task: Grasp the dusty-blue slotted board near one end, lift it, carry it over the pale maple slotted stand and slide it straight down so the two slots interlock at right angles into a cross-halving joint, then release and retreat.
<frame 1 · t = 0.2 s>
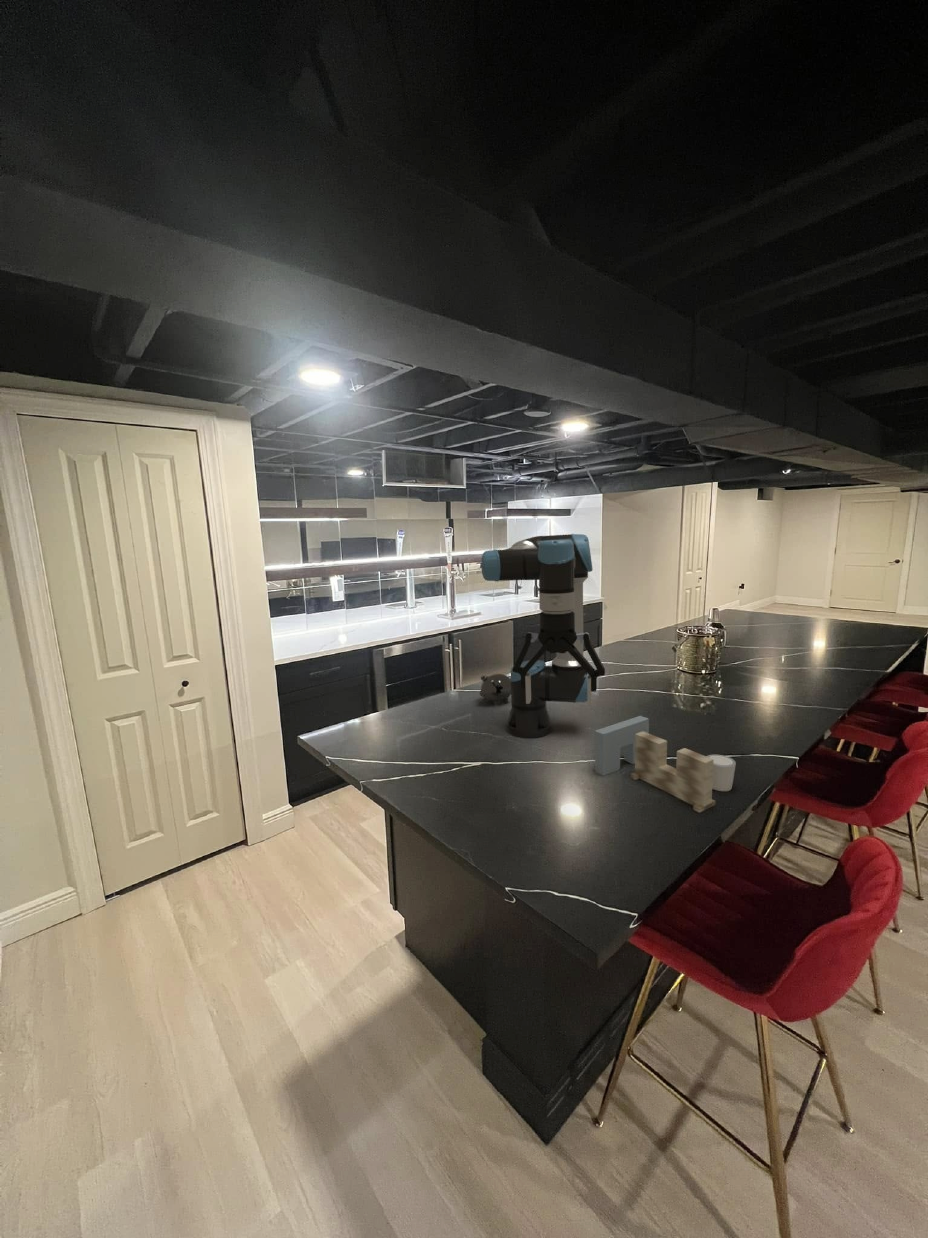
hand: (558, 703, 108), 28 cm above the counter, fingers open, 13 cm apart
white cylinder: (719, 786, 122), on the counter
grey teddy bear: (496, 703, 190), on the counter
slotted stand: (670, 790, 121), on the counter
slotted plate: (622, 764, 135), on the counter
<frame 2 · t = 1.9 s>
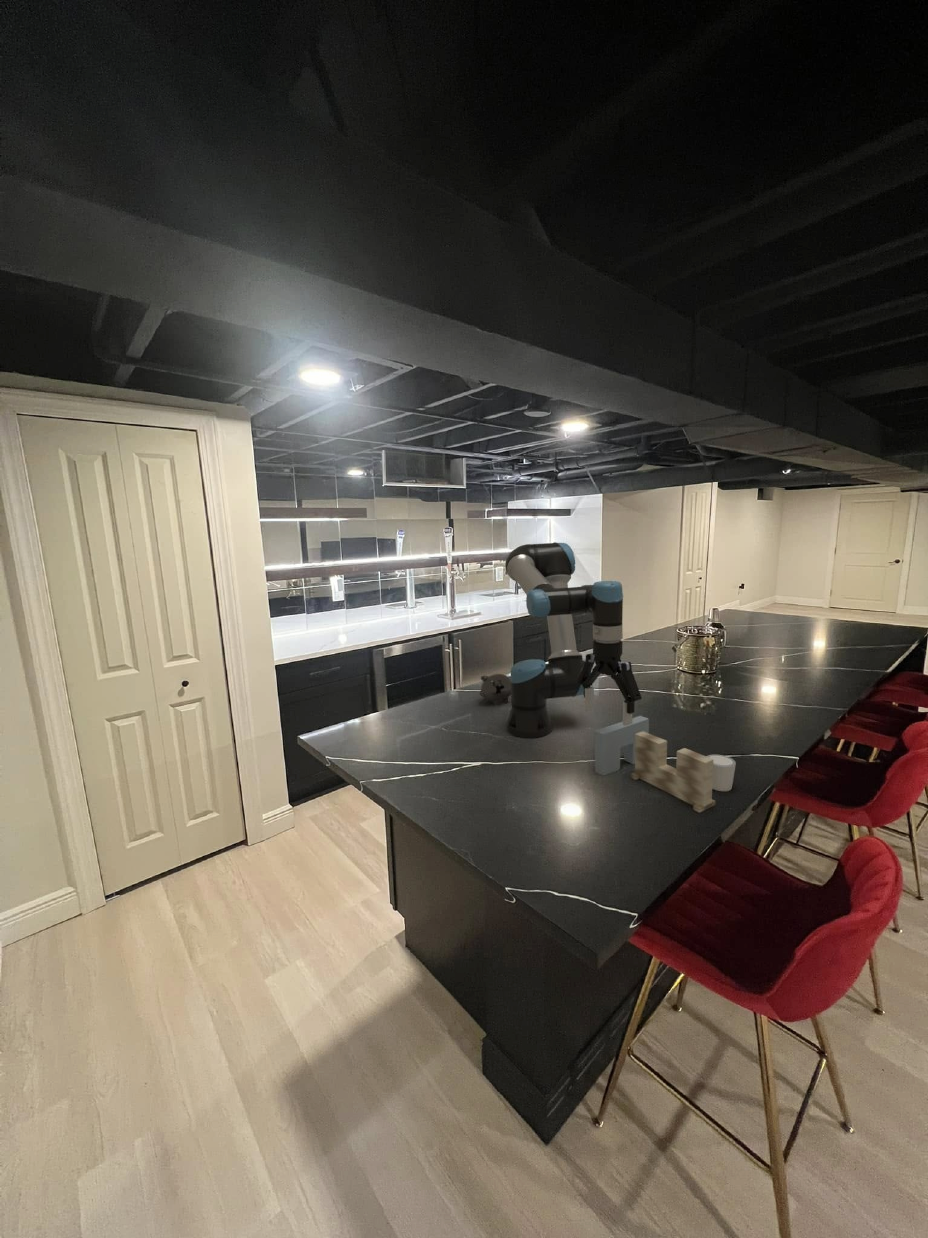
hand: (607, 717, 129), 16 cm above the counter, fingers open, 13 cm apart
nothing on the counter moved.
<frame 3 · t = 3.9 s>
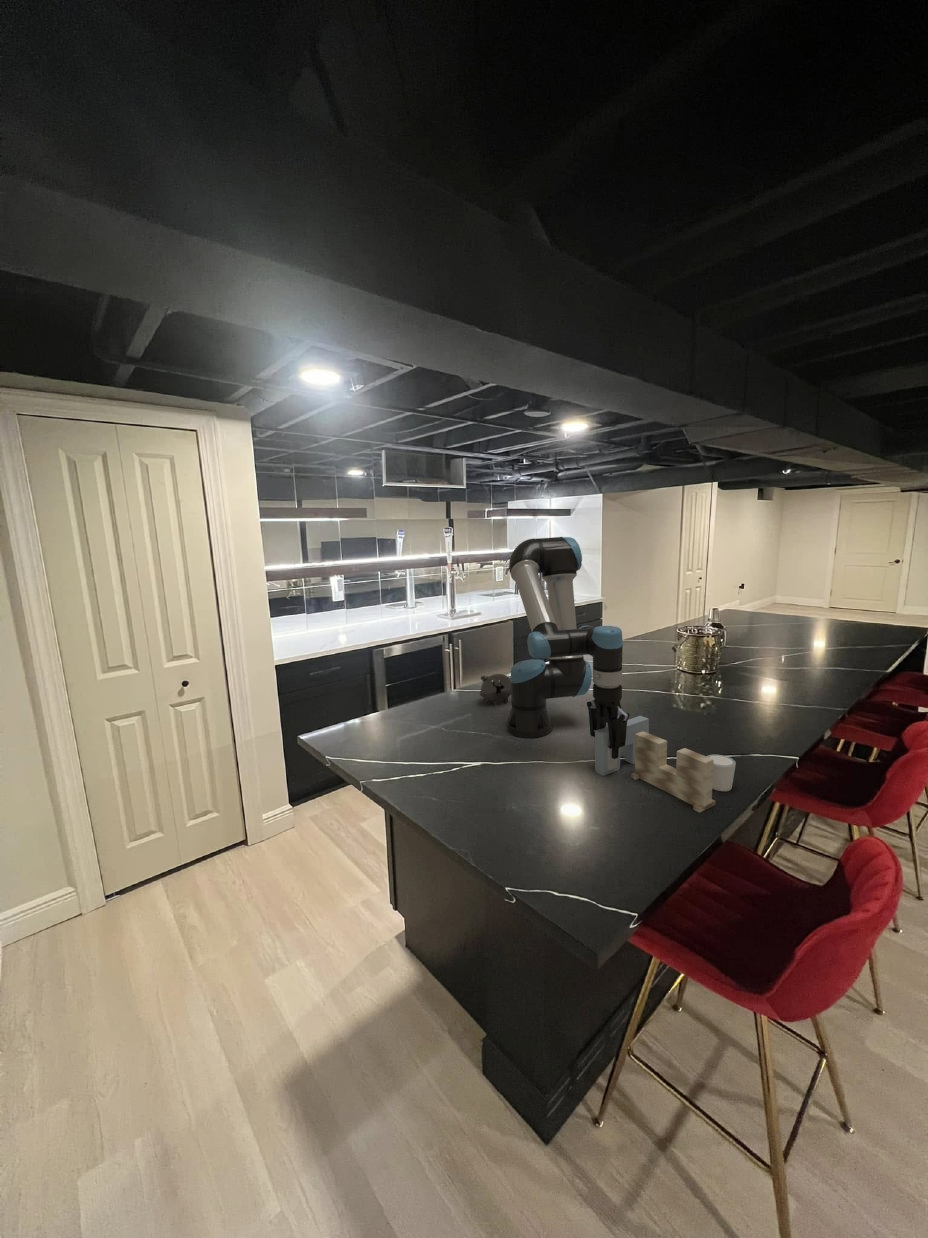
hand: (607, 765, 132), 2 cm above the counter, fingers closed on slotted plate, 3 cm apart
slotted plate: (622, 764, 135), on the counter, touching gripper
everything else where it was.
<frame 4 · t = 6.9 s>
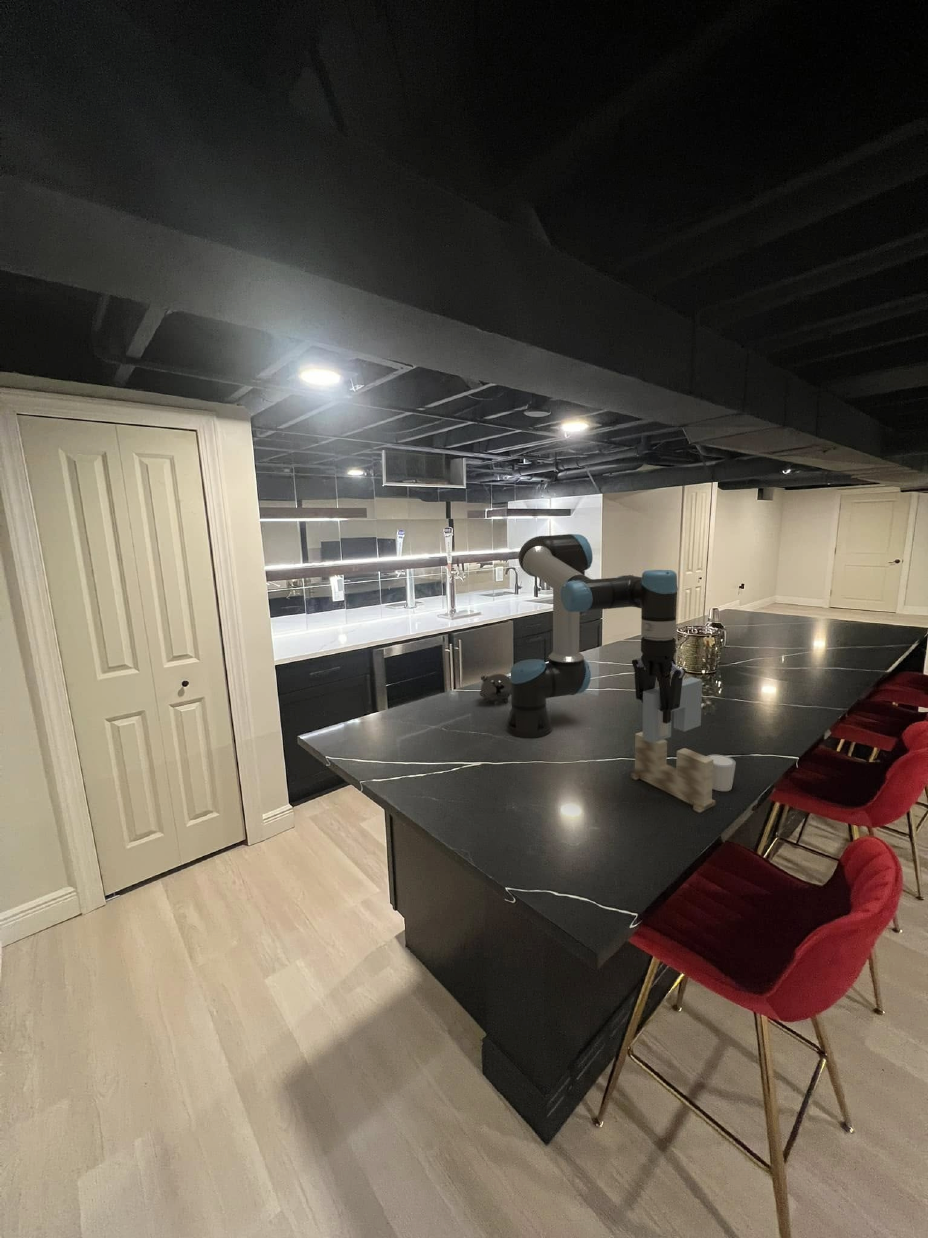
hand: (656, 732, 115), 17 cm above the counter, fingers closed on slotted plate, 3 cm apart
slotted plate: (672, 732, 118), point 16 cm above the counter, touching gripper
everything else where it was.
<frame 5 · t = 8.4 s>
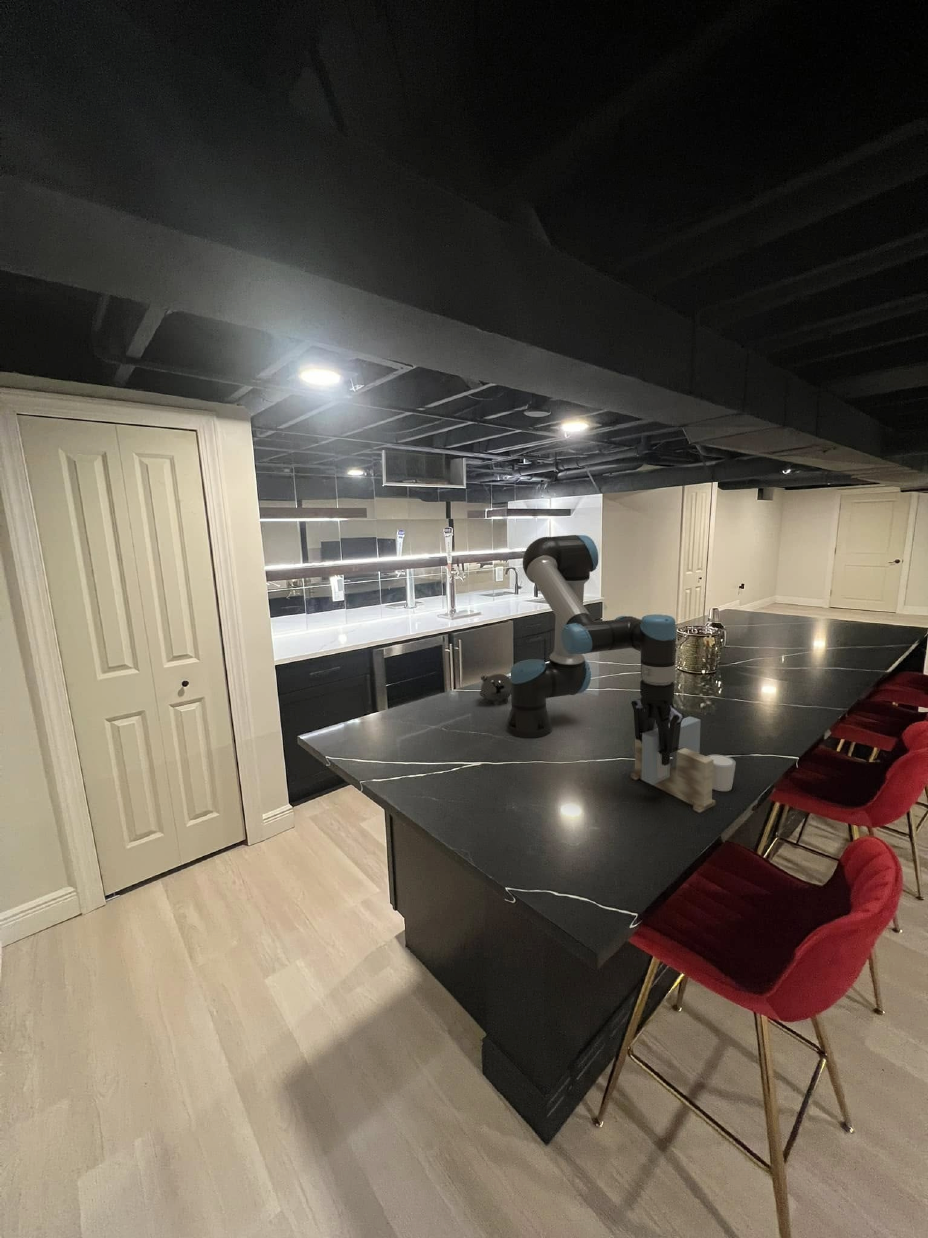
hand: (655, 772, 117), 7 cm above the counter, fingers closed on slotted plate, 3 cm apart
slotted plate: (671, 771, 120), point 5 cm above the counter, touching gripper
everything else where it was.
when the fingers open (3 cm above the counter, at t = 9.9 s): slotted plate stays where it is, on the counter.
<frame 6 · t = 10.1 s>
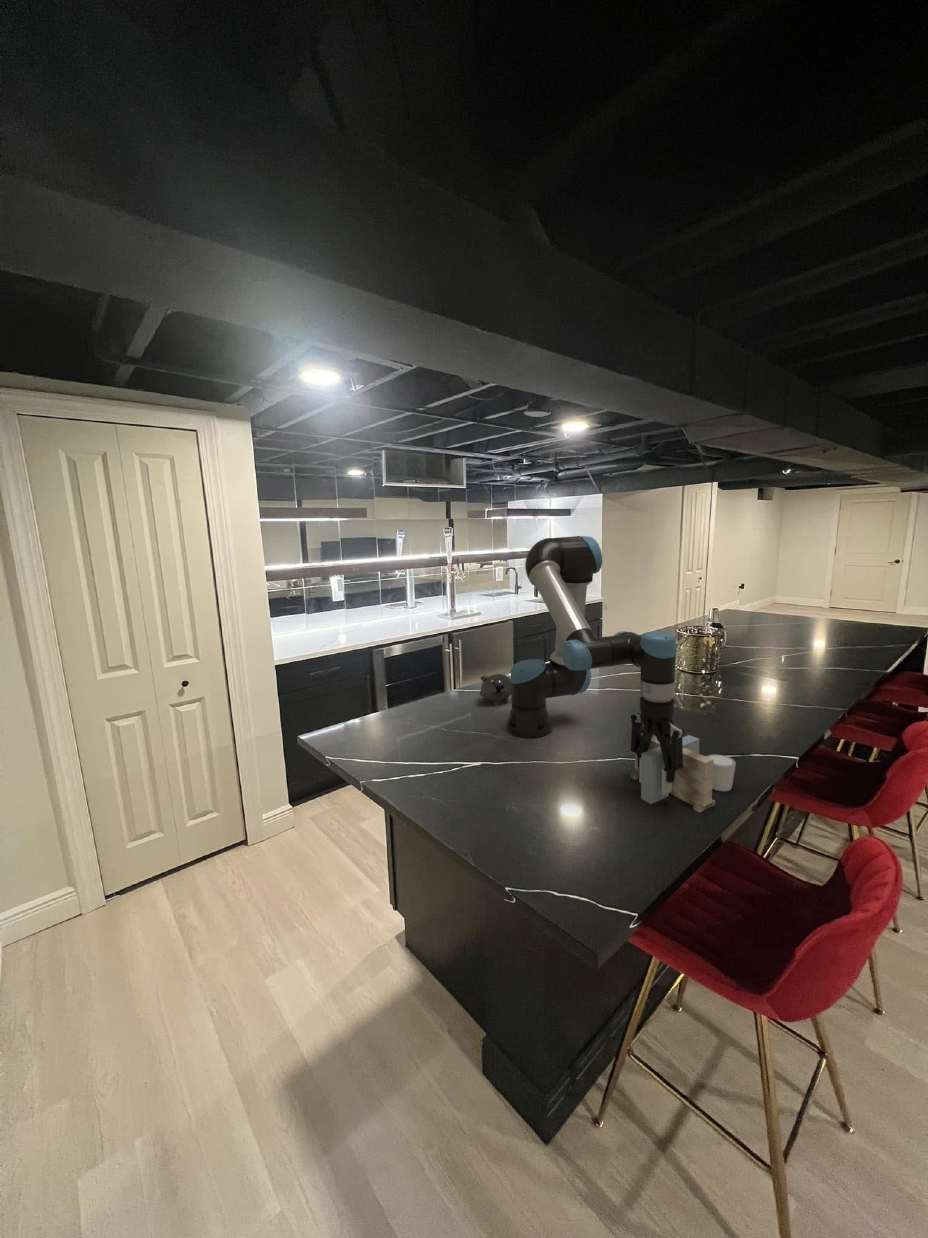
hand: (655, 787, 118), 3 cm above the counter, fingers open, 6 cm apart
slotted plate: (670, 790, 121), on the counter
everything else where it was.
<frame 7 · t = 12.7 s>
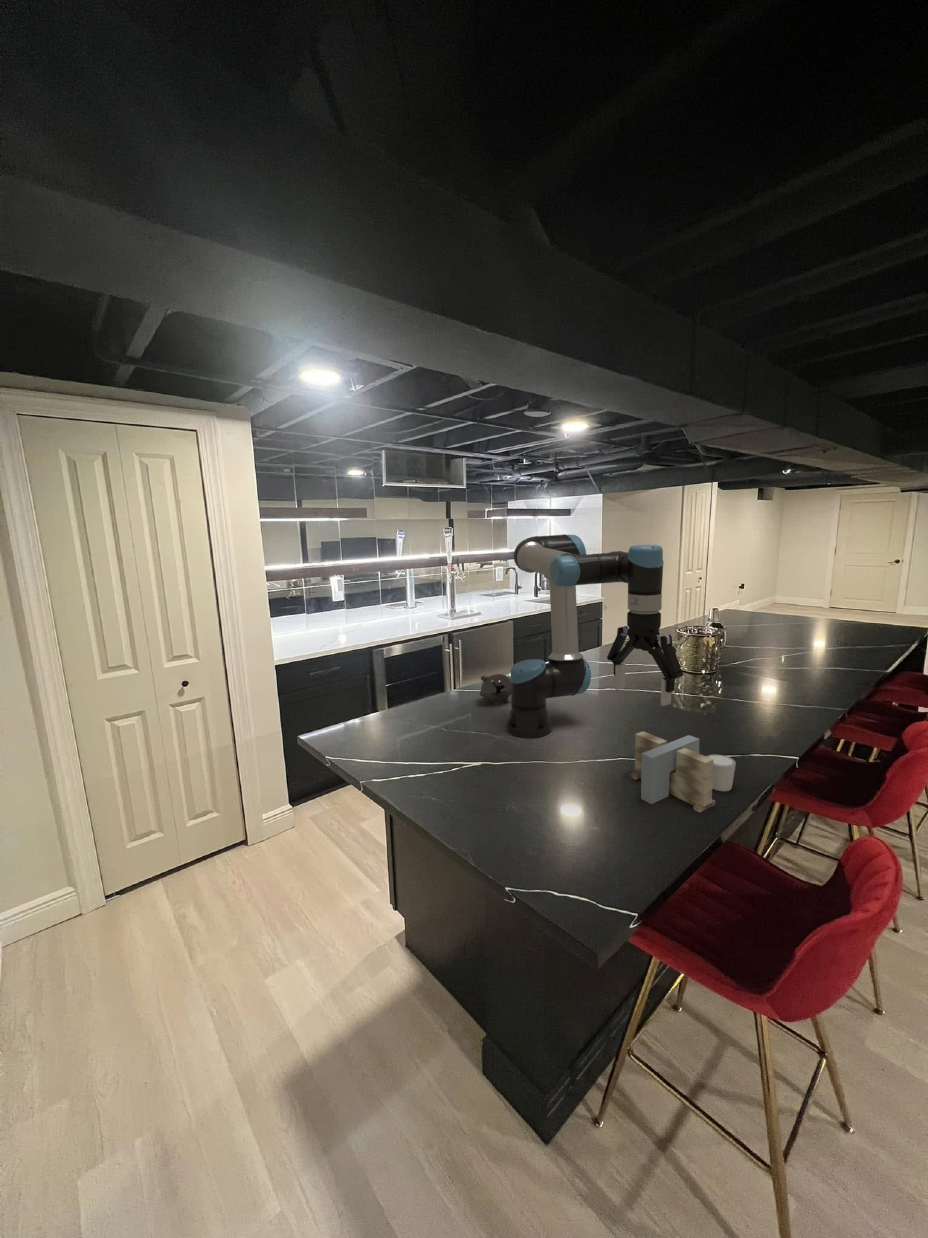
hand: (641, 696, 117), 25 cm above the counter, fingers open, 13 cm apart
nothing on the counter moved.
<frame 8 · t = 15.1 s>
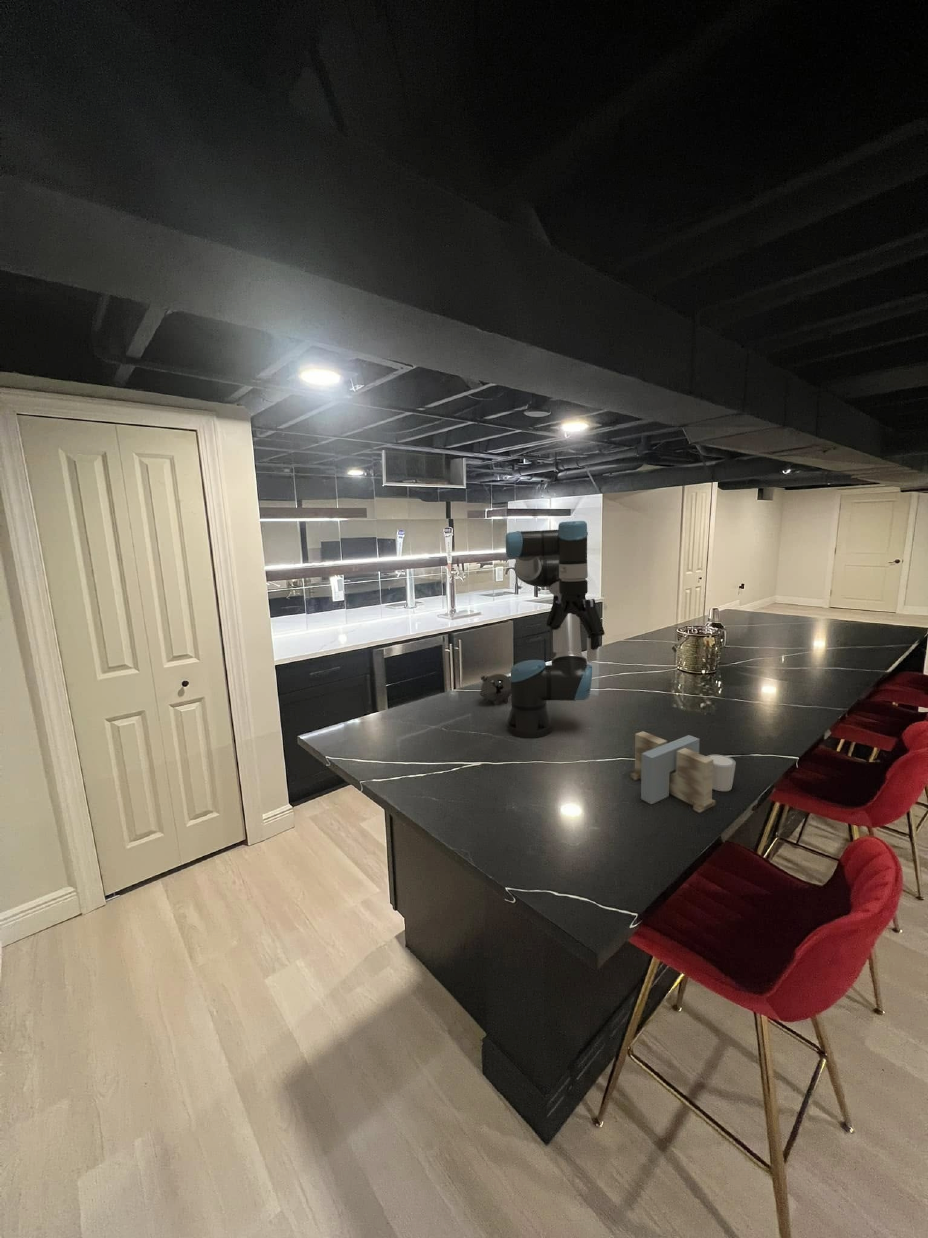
hand: (573, 656, 132), 32 cm above the counter, fingers open, 13 cm apart
nothing on the counter moved.
at the end: slotted plate 0.1 cm off-centre on the slotted stand, point 0.0 cm above the slotted stand's base; slotted plate tilted 0°; the gripper is holding nothing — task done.
